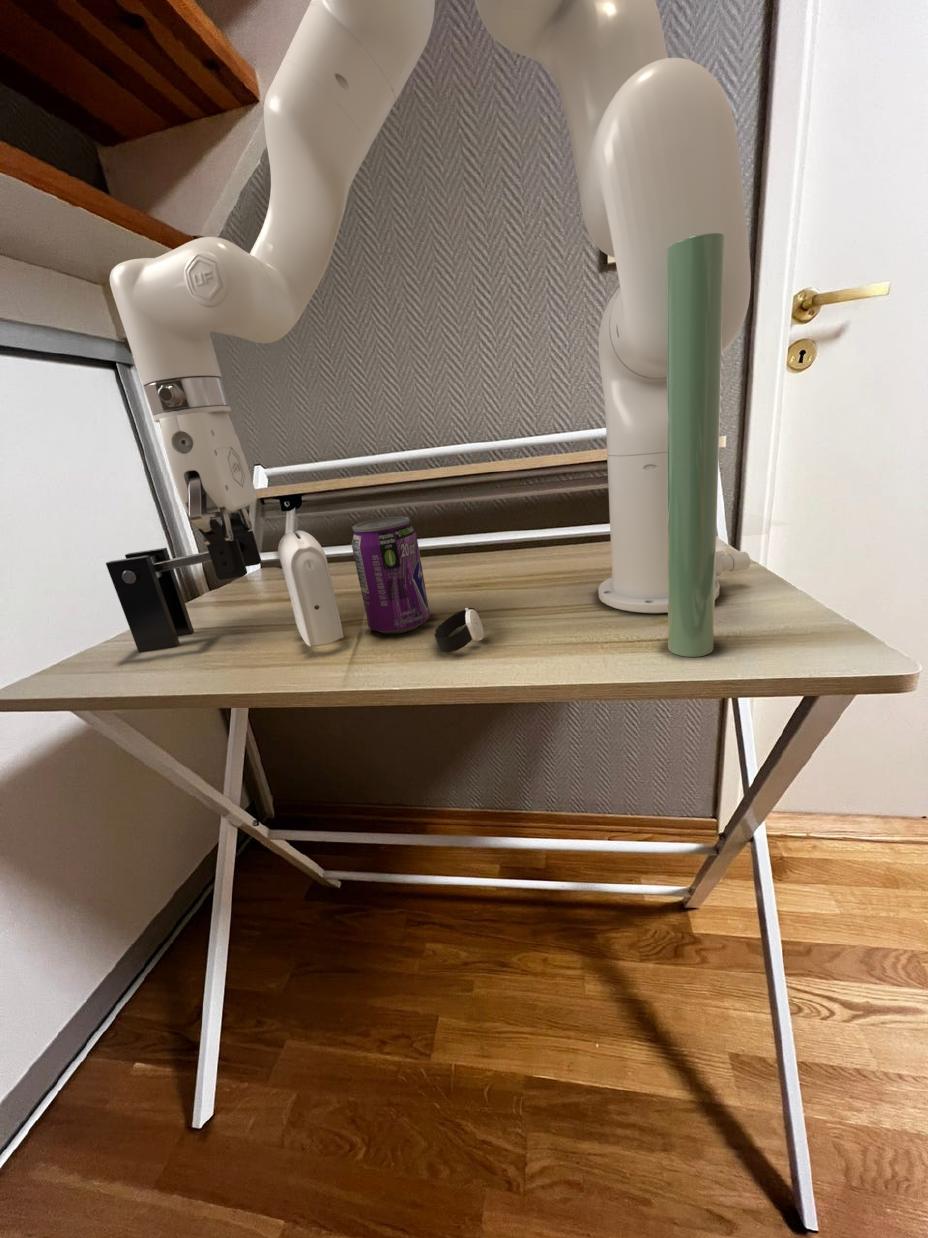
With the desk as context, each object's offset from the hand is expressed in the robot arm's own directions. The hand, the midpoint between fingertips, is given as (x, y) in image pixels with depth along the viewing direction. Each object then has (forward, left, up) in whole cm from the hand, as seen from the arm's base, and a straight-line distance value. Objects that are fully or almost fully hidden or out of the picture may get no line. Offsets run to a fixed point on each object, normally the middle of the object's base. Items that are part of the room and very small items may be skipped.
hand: (240, 569), depth 62 cm
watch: (-24, +11, -9) cm, 28 cm away
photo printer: (-8, +4, -9) cm, 13 cm away
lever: (+6, 0, +1) cm, 6 cm away
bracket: (+11, 0, -8) cm, 14 cm away
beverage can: (-17, +3, -9) cm, 20 cm away
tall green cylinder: (-43, +20, -8) cm, 48 cm away
